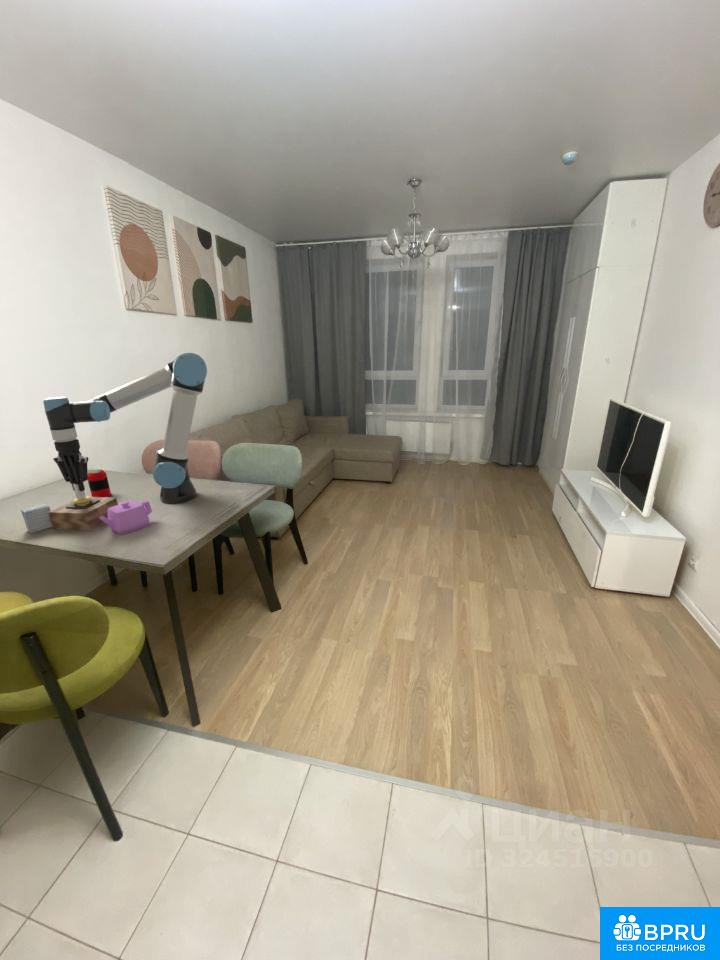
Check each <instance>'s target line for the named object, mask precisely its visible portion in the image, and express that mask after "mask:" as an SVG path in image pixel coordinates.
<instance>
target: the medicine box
mask: <svg viewBox="0 0 720 960" xmlns="http://www.w3.org/2000/svg"><path fill="white" fill-rule="evenodd" d="M50 511H51V508H50V506H49V505H48V504H46V503H43V504H38V505H34V506H32V507H28V508H24V509H21V515H22V518H23V521H24V523H25V526H26V529H27V531H28V532H29V533H30V534H33V533H38V532H40V531H44V530H46V529H49V528H53V527H52V524H51V520H50V517H49V514H48V512H50Z"/></svg>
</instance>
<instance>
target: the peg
mask: <svg viewBox="0 0 720 960" xmlns="http://www.w3.org/2000/svg"><path fill="white" fill-rule="evenodd" d="M85 496H86V497H85V498H83V499H81V500H77V498H76V497H75V498H74V499H72V501H73V503H74V504H76V505H77V506H85V505H87V504H89V503H90V501H91V500H92V499H91V497H92V496H91V495H90V496H89V495H85Z"/></svg>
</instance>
